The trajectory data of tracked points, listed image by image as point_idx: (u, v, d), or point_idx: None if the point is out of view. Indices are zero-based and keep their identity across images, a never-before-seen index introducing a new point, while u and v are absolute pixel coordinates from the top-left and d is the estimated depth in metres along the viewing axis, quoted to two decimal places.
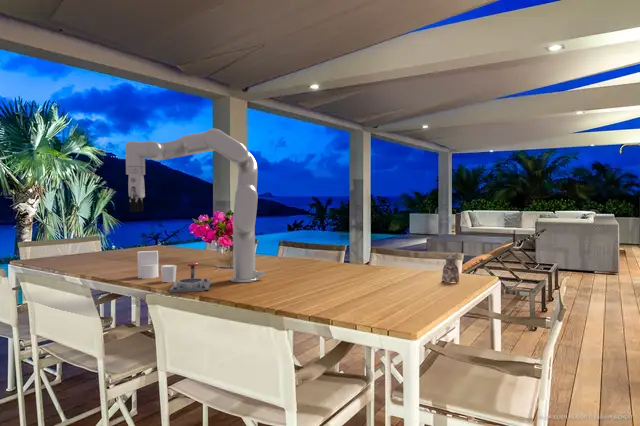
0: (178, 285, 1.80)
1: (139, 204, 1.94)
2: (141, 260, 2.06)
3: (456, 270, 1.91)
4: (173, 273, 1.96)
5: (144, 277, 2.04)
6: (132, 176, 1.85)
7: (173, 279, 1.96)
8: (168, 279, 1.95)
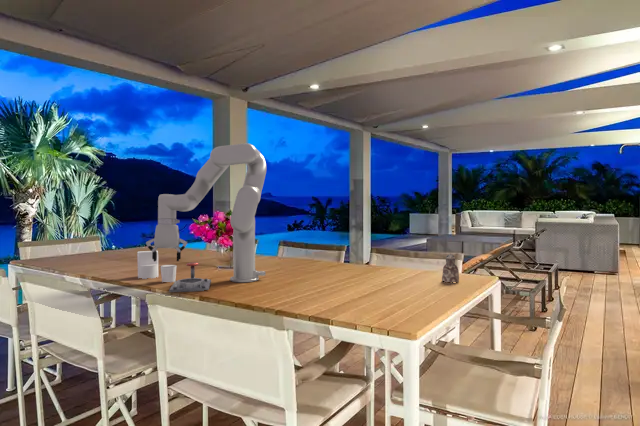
0: (178, 285, 1.80)
1: (156, 254, 1.96)
2: (141, 260, 2.06)
3: (456, 270, 1.91)
4: (173, 273, 1.96)
5: (144, 277, 2.04)
6: (177, 227, 1.97)
7: (173, 279, 1.96)
8: (168, 279, 1.95)
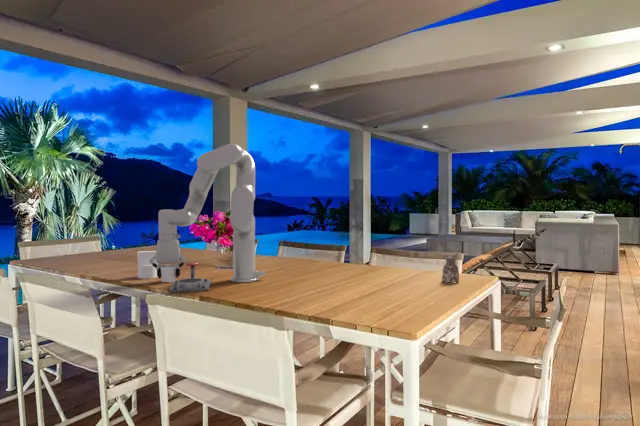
0: (178, 285, 1.80)
1: (160, 271, 1.97)
2: (141, 260, 2.06)
3: (456, 270, 1.91)
4: (173, 273, 1.96)
5: (144, 277, 2.04)
6: (178, 242, 1.97)
7: (173, 279, 1.96)
8: (168, 279, 1.95)
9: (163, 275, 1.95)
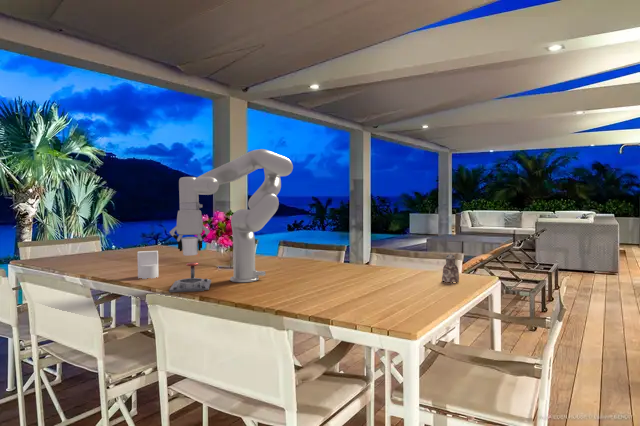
0: (178, 285, 1.80)
1: (181, 243, 1.83)
2: (141, 260, 2.06)
3: (456, 270, 1.91)
4: (195, 245, 1.82)
5: (144, 277, 2.04)
6: (200, 212, 1.83)
7: (195, 252, 1.82)
8: (190, 252, 1.81)
9: (184, 247, 1.81)
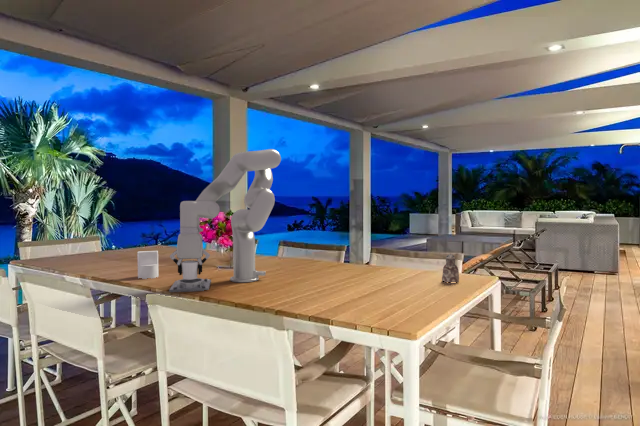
0: (178, 285, 1.80)
1: (181, 267, 1.83)
2: (141, 260, 2.06)
3: (456, 270, 1.91)
4: (195, 269, 1.82)
5: (144, 277, 2.04)
6: (201, 236, 1.83)
7: (195, 276, 1.82)
8: (190, 276, 1.81)
9: (184, 271, 1.81)
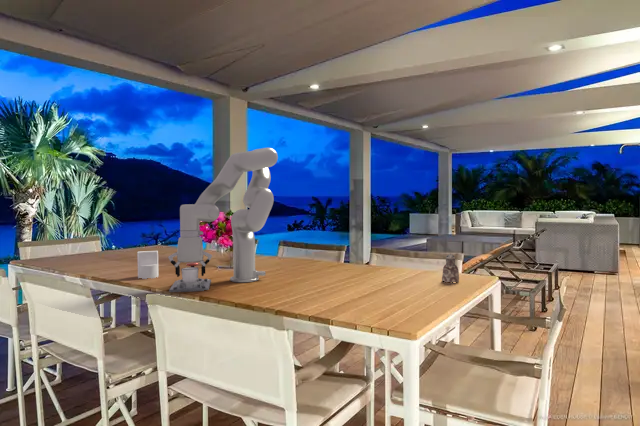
0: (178, 285, 1.80)
1: (179, 269, 1.83)
2: (141, 260, 2.06)
3: (456, 270, 1.91)
4: (195, 276, 1.82)
5: (144, 277, 2.04)
6: (201, 240, 1.83)
7: None
8: None
9: (185, 278, 1.81)
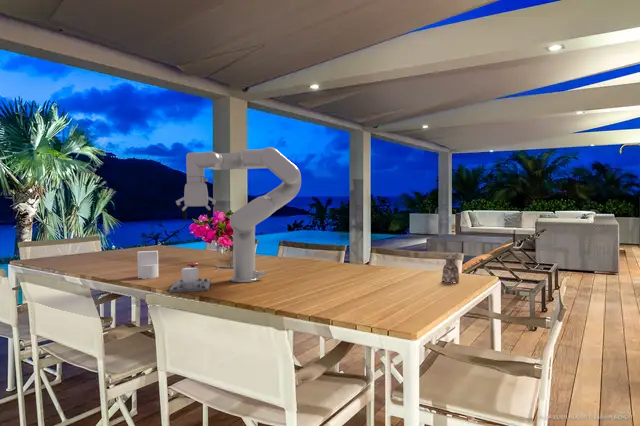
0: (178, 285, 1.80)
1: None
2: (141, 260, 2.06)
3: (456, 270, 1.91)
4: (195, 276, 1.82)
5: (144, 277, 2.04)
6: (206, 186, 1.98)
7: None
8: None
9: (185, 279, 1.81)
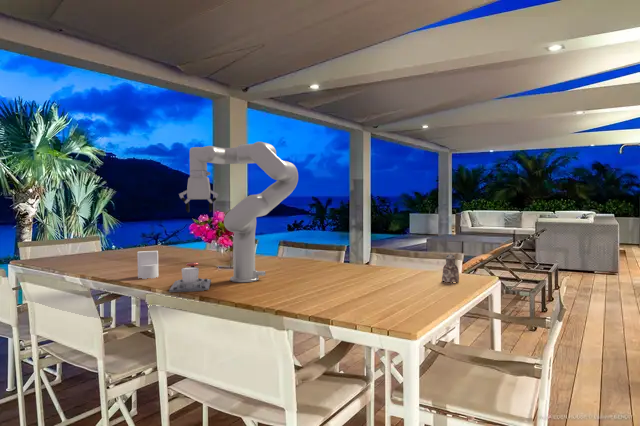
0: (178, 285, 1.80)
1: None
2: (141, 260, 2.06)
3: (456, 270, 1.91)
4: (195, 276, 1.82)
5: (144, 277, 2.04)
6: (208, 179, 2.04)
7: None
8: None
9: (185, 279, 1.81)
